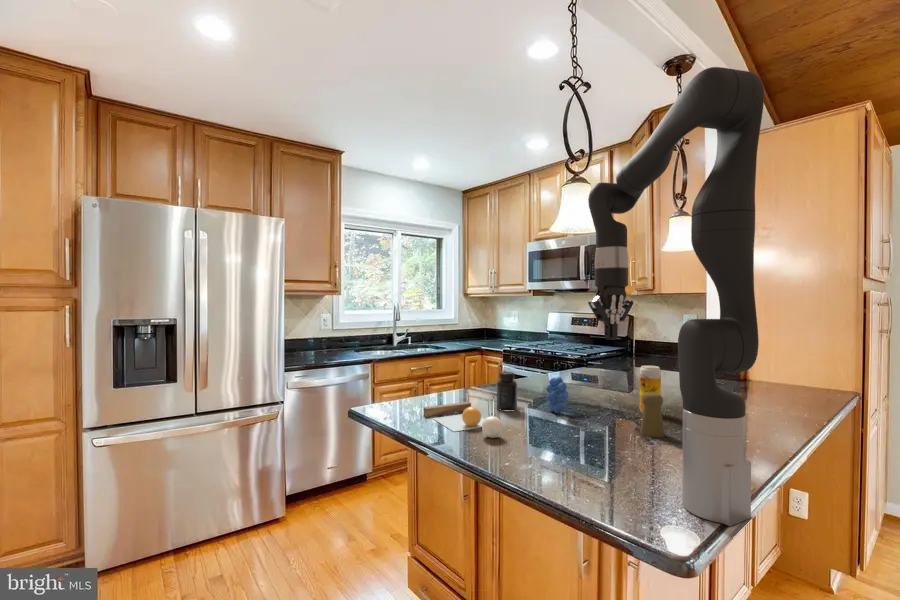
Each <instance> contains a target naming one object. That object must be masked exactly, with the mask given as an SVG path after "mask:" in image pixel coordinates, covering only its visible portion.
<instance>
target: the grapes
mask: <svg viewBox="0 0 900 600" xmlns="http://www.w3.org/2000/svg"><path fill="white" fill-rule="evenodd" d="M567 388H568V386H567V384H566V383H565V382H564V380H563V378H561V376H556V377H552V378H551V379H550V380H549V382H548V385H547V386H546V387H545V390H546V391H547V393H548V394H547V395H546V396H545V400H546V401H547V402H548V405H547V408H548V409H549V410H550V411H552V412H554V413H555V414H556V413H558V414H559V413H561V412H562V411H564V410H565V408H566V407H567V404H566V401H567V400H568V399H569V392H568V391H567Z"/></svg>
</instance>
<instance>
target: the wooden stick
mask: <svg viewBox="0 0 900 600" xmlns="http://www.w3.org/2000/svg"><path fill="white" fill-rule="evenodd" d="M468 407H472V403H471V402H469V401H465V402H457V403H449V404H448V403H447V404H440V405H439V404H438V405H432V406H424V407H423V409H422V410H423V416H424V417H426V418H427V417H436V416H443V415H442V414H444V415H448V413H451V414H456V413H455V412H458V413H462V412H461V411H464V410H465V409H466V408H468ZM435 415H436V416H435Z"/></svg>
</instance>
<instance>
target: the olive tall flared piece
mask: <svg viewBox="0 0 900 600" xmlns="http://www.w3.org/2000/svg"><path fill="white" fill-rule="evenodd" d="M642 402H643V404H644V409H643V414H642V418H641V424H640V431H639V433H640V434H641V435H644V436H646V437H649V438H663V437H665V429H664V428H665V427H664V420H663V414H662V405H664V404H663V403H664V398H663V396H662V394H661V395H659V394H657V393H645V394H643V396H642Z"/></svg>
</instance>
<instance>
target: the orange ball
mask: <svg viewBox="0 0 900 600" xmlns="http://www.w3.org/2000/svg"><path fill="white" fill-rule="evenodd" d="M461 414H462V420H463V422H464V423H465V424H466V425H467V426H470V427H473V426H476V425H478V424H479V422H480V421H481V417H482V414H481V411H480V410H479V409H478V408H477V407H475V406H471V407H468V408H466V409H465V410H464V411H463V412H462V413H461Z"/></svg>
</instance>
